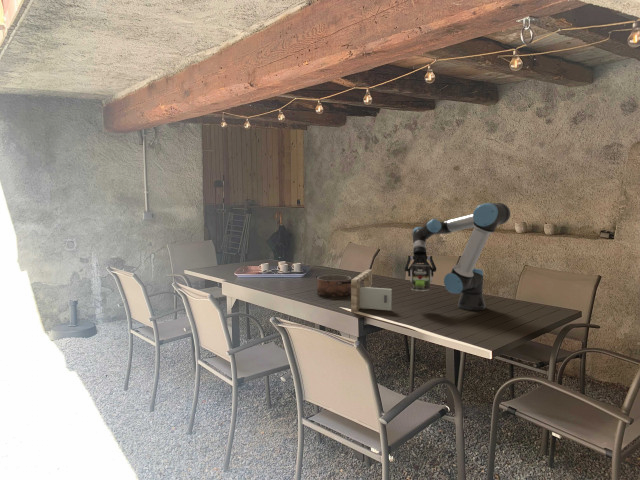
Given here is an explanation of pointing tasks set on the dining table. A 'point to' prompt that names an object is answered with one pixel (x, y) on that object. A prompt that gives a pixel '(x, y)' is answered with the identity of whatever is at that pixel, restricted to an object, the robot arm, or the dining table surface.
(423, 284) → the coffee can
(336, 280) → the cooking pot
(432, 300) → the dining table surface
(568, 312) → the dining table surface
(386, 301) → the door
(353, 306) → the door frame
